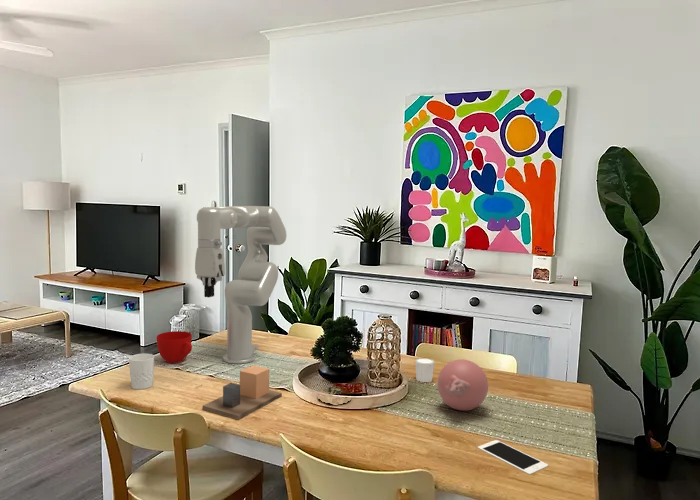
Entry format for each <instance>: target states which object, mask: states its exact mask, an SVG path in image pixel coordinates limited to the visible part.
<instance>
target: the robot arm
mask: <svg viewBox="0 0 700 500" xmlns="http://www.w3.org/2000/svg"><path fill="white" fill-rule="evenodd" d="M196 221H197V248H196V252H195V260H194V261H195V262H194V272H195V275H196V279H198V280H200V281H201V283H202V285H203V288H204V291H203V293H204V295H203V296H204V297H205V298H211V297H215V286H217V285H216V284H217V283H218V282H222V281H223V277H224V276H225V273H226V265H225V257H224V250H223V248H221V246H222V244H223V242H222V241H221V230H223V229H224V230H228V229H229V230H230V229H243V228H247V230H246V243H247V244H246V245H247V255H246V257H245V259H244V260H243V263H242V264H241V266H240V268H239V270H238V274H237V278H238V279H232V280H230V281H228V283H226V285H225V286H224V297H225V304H226V313H227V316H226V317H227V318H226V322H227V323H226V328H227V329H226V337H227V338H226V340H227V343H226V346H227V347H226V354H224V355H223V356H222V359H223V362H225V363H229V364H247V363H252V362H254V361H255V360H256V357H257V356H256V354H255V353H254V352H255V351H256V350H258V349H259V345H258V344H254V345H253V315H252V311H251V309H250V307H249V306H254V307H263V306H265V305H266V304H267V303H268V301H269V300H270V297H271V295H272V293H273V291H274V289H275V287H276V285H277V282H278V279H279V269H278V266H277V265H276V263H274V262H270V261H268V258H269V256H268V253H267V252H266V250H265V248H264V247H263V246H262V245H265V246H267V245H269V246H271V245H272V246H281V245H283V244H285V242H286V240H287V229H286V227H285V225H284V222H283V221H282V218H281V217H280V214H279V212H278V211H277V210H276V209H275V208H274V207H273V206H263V205H261V206H260V205H232V206H230V205H229V206H216V207H215V206H210V207H209V206H205V207H201V208H200V209H198V212H197V213H196Z"/></svg>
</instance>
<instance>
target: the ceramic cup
mask: <svg viewBox="0 0 700 500" xmlns="http://www.w3.org/2000/svg"><path fill="white" fill-rule="evenodd" d="M192 338H193V334H192V333H191V332H189V331H183V330H182V331H181V330H179V331H178V330H177V331H175V330H174V331H165V332H161V333H159V334H158V335H156V345H157V350H158V353H159V355H160V357H161V358H162V359H163V360H164V361H165V362H166V363H169V364H176V363H181V362H184V360H185V359H186V357H187V356H188V355H190V354H191V352H192V349H193V345H192Z"/></svg>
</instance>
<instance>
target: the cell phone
mask: <svg viewBox="0 0 700 500" xmlns="http://www.w3.org/2000/svg"><path fill="white" fill-rule="evenodd" d="M477 449H479V450H481V451H482V452H485V453H487V454H489V455H491V456H492V457H494V458H495V459H498V460H500V461H502V462H504V463H506V464H508V465H510V466H511V467H513V468H515V469H517V470H519V471H521V472H523V473H525V474H527V475H533V474H534V473H535V474H536V473H537V472H539V471H541V470H542V469H545V468H548V467H549V463H546V462H543V461H542V460H540V459H538V458H536V457H533V456H532V455H529V454H527V453H525V452H523V451H521V450H518V448H514V447H512V446H511V445H508V444H507V443H504V442H501V441H500V440H498V439H495V440H491V441H489V442H487V443H484V444H482V445H479V446H477Z"/></svg>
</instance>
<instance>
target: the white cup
mask: <svg viewBox="0 0 700 500" xmlns="http://www.w3.org/2000/svg"><path fill="white" fill-rule="evenodd" d="M128 363H129V366H128V367H129V379H130V388H131V389H134V390H147V389H149V388H151V387H153V385H154V375H155V355H154V354H152V353H137V354H133V355H131V356H129V358H128Z"/></svg>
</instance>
